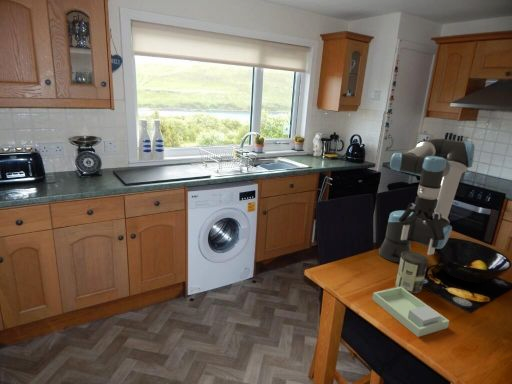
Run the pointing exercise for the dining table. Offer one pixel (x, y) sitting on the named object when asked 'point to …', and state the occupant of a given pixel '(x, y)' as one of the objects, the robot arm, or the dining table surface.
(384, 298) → the tray
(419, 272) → the coffee can
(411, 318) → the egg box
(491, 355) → the dining table surface
